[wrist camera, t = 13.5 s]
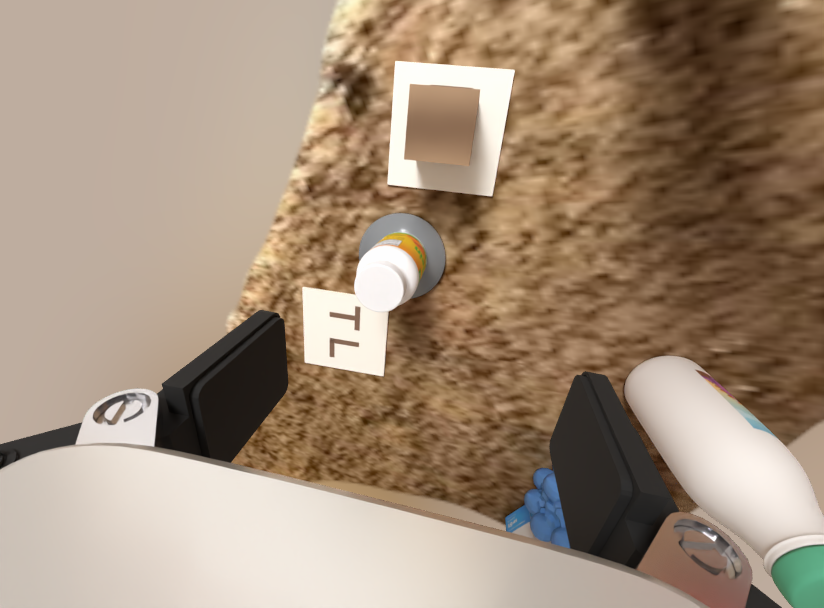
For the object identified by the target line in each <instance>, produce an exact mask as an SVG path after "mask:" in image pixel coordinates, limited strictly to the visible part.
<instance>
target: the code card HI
mask: <svg viewBox="0 0 824 608" xmlns="http://www.w3.org/2000/svg"><path fill="white" fill-rule="evenodd" d="M514 72H515V70H509V69H495V68H482V67H468V66H455V65H441V64H428V63H415V62H401V61H395V75H394V90H393V106H392V122H391V138H390V153H389V169H388V185H396V186H405V187H413V188H422V189H431V190H440V191H448V192H457V193H466V194H475V195H484V196H492V195H493V190H494V184H495V178H496V173H497V167H498V162H499V156H500V150H501V145H502V139H503V134H504V128H505V122H506V117H507V111H508V106H509V100H510V94H511V89H512V83H513V78H514ZM410 84H419V85H431V86H444V87H456V88H468V89H480V97H479V106H478V112H477V119H476V126H475V132H474V139H473V146H472V153H471V159H470V165H469V166H462V165H453V164H443V163H434V162H424V161H415V160H405V159H404V152H405V139H406V126H407V114H408V101H409V88H410Z"/></svg>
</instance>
